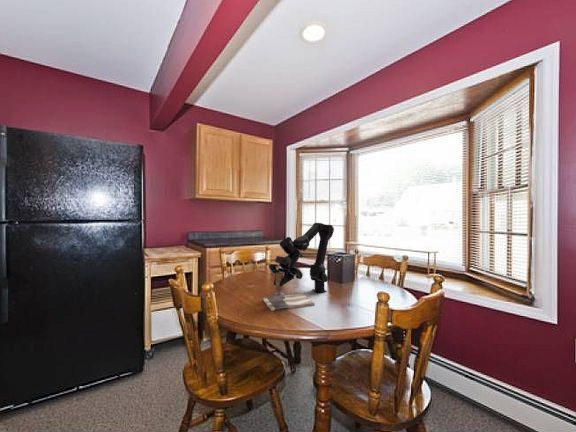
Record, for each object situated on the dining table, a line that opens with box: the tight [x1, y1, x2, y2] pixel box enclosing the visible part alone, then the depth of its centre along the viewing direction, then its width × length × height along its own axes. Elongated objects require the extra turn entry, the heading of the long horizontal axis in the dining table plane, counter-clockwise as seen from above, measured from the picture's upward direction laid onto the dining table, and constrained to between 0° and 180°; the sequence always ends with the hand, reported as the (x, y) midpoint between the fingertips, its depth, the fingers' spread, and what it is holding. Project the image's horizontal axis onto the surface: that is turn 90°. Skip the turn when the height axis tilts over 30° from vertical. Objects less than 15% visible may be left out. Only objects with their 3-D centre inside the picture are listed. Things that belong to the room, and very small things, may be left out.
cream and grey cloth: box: [262, 293, 315, 312], centre depth 142 cm, size 16×22×1 cm
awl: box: [272, 272, 286, 300], centre depth 136 cm, size 6×6×12 cm
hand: (277, 285), depth 135 cm, fingers closed on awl, 3 cm apart
